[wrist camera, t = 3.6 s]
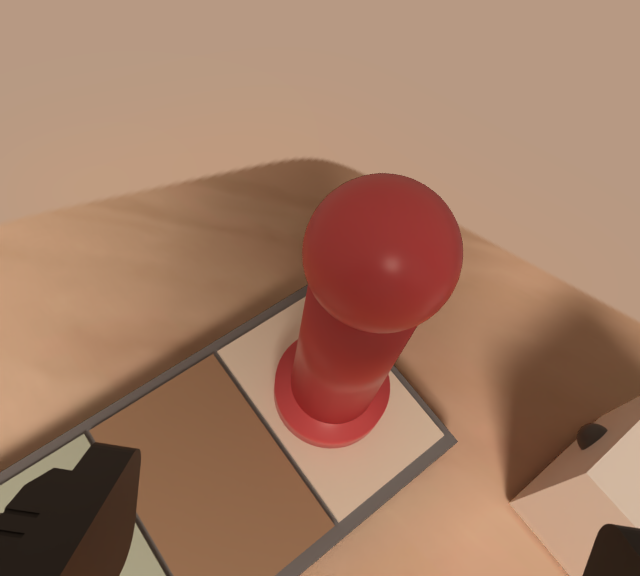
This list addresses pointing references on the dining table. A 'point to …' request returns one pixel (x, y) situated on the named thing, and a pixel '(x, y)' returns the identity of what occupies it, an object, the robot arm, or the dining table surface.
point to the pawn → (363, 302)
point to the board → (242, 461)
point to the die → (587, 488)
